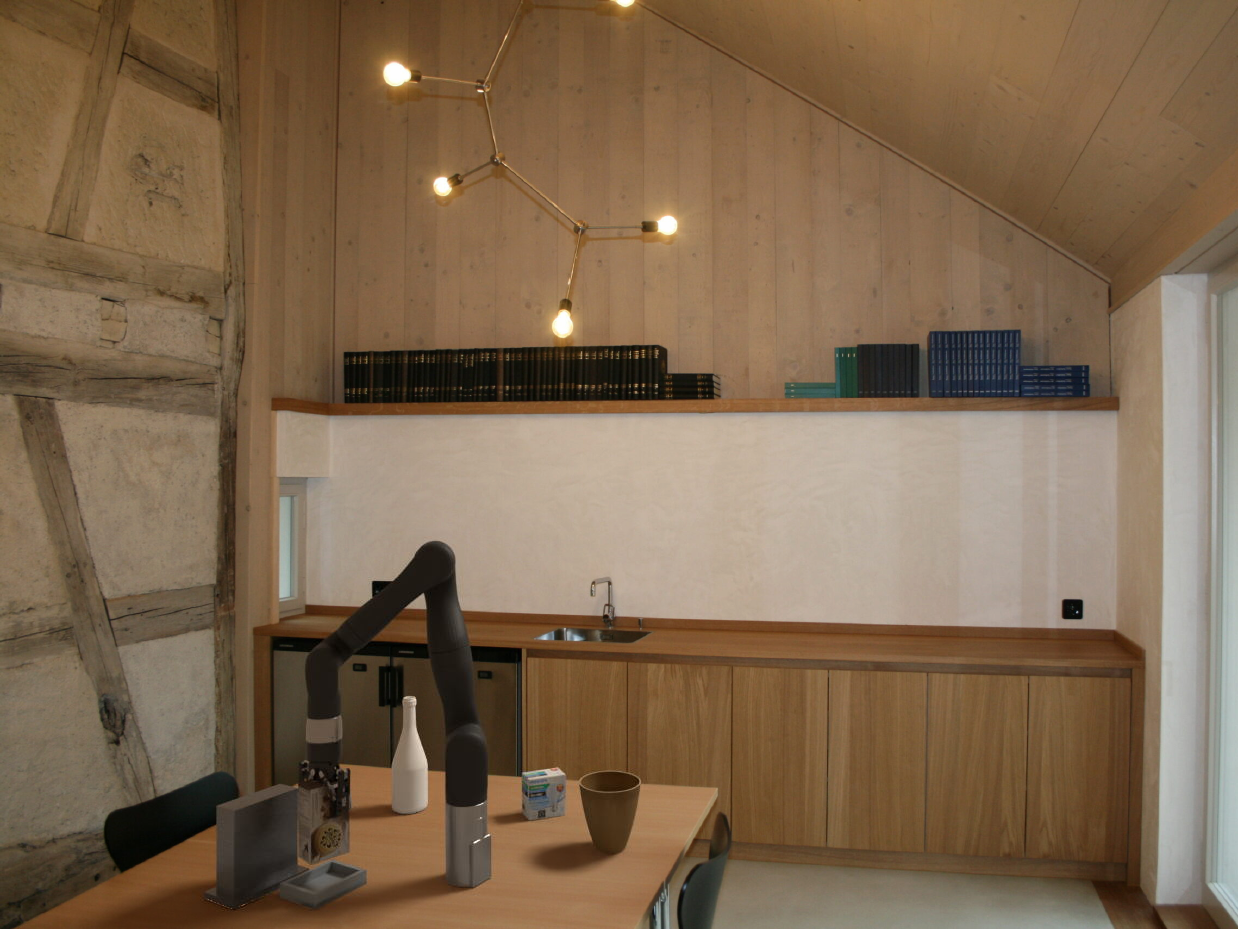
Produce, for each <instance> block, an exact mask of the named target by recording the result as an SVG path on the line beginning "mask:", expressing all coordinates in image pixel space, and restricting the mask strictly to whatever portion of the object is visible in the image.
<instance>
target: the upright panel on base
mask: <svg viewBox="0 0 1238 929" xmlns="http://www.w3.org/2000/svg"><path fill="white" fill-rule="evenodd" d="M215 843H216V846H215V847H216V851H215V852H216V853H215V854H216V856H215V857H216V862H215V863H216V864H215V868H216V874H215V875H216V878H215V879H216V881H215V883H216V884H215V887H212V888H209V889H207V890H206V891H204V892H203V899H204V898H206V899H209V900H212V901H213V902H216V903H219V904H221V905H224V906H226V907H229V908H232V909H236V908H238V907H239V906H241V905H243V904H246V903H248V904H250V903H249V902H251V901H252V900H255V899H257V900H259V899H261V898H263V897H266V896H267V895H266V894H268V895H270V894H271V892H272V893H274V892H277V891H278V890H280V883H282V882H284V881H286V880H288V879H290V878H293V877H295V876H297V875H299V874H301V873H303V872H306V871H308V870H310V868H309V867H306V866H302V865H299V863H298V862H299V861H298V858H299V857H298V788H296V787H295V786H291V785H287V784H283V783H278V784H275V785H273V786H270V787H267V788H264V789H261V790H258V791H255V792H253V793H250V794H246V795H244V796H240V797H238V798H235V799H232V800H229V801H227V802H224V803H221V804H217V805H216V842H215ZM273 891H274V892H273ZM269 893H270V894H269ZM265 895H266V896H265ZM262 896H263V897H262ZM260 897H261V898H260ZM258 898H259V899H258ZM255 901H256V900H255ZM213 902H212V903H213ZM216 903H215V904H216ZM251 903H252V902H251ZM221 905H220V906H221ZM246 905H247V904H246ZM226 907H225V908H226ZM229 908H228V909H229ZM238 909H239V908H238ZM236 910H237V909H236Z"/></svg>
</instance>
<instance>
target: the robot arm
mask: <svg viewBox="0 0 1238 929" xmlns="http://www.w3.org/2000/svg"><path fill="white" fill-rule="evenodd" d="M456 563H457V562H456V555H455V552H454V551H453V549H452V548H451V546H450V545H448V544H447V543H445V542H443V541H439V540H430V541H427V542H426V543H423V544H422V545H421V546H420V547H419V548H418V549H417V550H416V551H415V553H414V555H413V558H412V559H411V560H410V561H409V562H408V564H407V565H406V566H405V567H404V569H403V570H402V571H401V572H400V573H399V574H398V575H397V576H396V577H395V578H394V579H393V580H392V581H391V582H389V584H388V585H387V586H385V587H384V588H383V589H382V590H381V591H379V592H378V593H377V594H375V595H374V596H373V597H371V598H369V600H367V601H366V602H364V604H362V605H361V606H360V607H359V608H358V609H357V610H355V611H354V612H353V613H352V614H351V615H350V616H349V617H347V618H346V620H344V621H343V622H342V624H341V625H339V627H338V628H337V629H336V630H335V631H333V632H331V634H329V635H328V636H327V637H325V639H323V640H322V641H320V643H318V644H317V645H316V646H315V647H314V648H313V649H311V650H310V652H309V653H308V654H307V656H306V658H305V662H304V663H305V664H304V677H305V685H306V686H305V687H306V691H307V702H306V704H307V705H306V708H307V710H306V712H307V714H306V726H305V760H302V761H299V762H298V782H302V781H305V780H309V781H313V780H316V781H320V782H323V783H324V785H327V791H328V792H329V793H330V796H331V798H332V801H331V817H332V818H336V817H339V816H341V814H342V799H343V798H345V797H347V796H349V795H350V791H351V769H350V768H349V767H347V768H341V766H340V765H341V764H340V760H341V758H342V757H343V720H342V695H341V694H342V693H341V691H340V689H339V669H340V668H341V667H342V666H343V665H345V663H346V662H347V661H348V660H349V659H350V658H351V657H352V656H353V655H354V654H355V653H356V652H357V651H359V650H361V649H362V648H364V647H365V646H367V645H368V644H369V643H370V642H371V641H372V640H373V639H375V637H377V636H378V635H379V634H380V633H381V632H382V631H383V630H384V629H386V627H387V626H388V625H389V624H391V622H392V621H394V620H395V619H396V617H398V615H399V614H400V613H401V612H403V611H404V610H405V609H406V608H407V607H408V606H409V605H411V603H413V602H414V601H415V600H416V599H418V598H419V597H420V596H422V595H423V596H424V601H425V607H426V608H425V611H426V612H425V613H426V641H427V649H428V650H427V652H428V655H429V662H430V663H429V664H430V668H431V671H432V678H433V679H434V683H435V684H434V685H435V687H436V689H437V692H438V695H439V699H440V700H441V701H440V702H441V704H442V709H443V719H444V729H445V730H444V731H445V740H444V742H445V744H444V747H445V748H444V776H445V777H444V778H445V779H444V784H445V785H444V786H445V789H444V792H445V794H444V796H445V797H444V798H445V799H444V800H445V804H444V805H445V818H444V819H445V822H444V824H445V828H444V829H445V882H446V883H447V884H448V885H451V886H453V887H460V888H465V887H466V888H467V887H471V888H475V887H477V886H479V885H480V884H482V883H484V882H486V881H487V880H489V879H490V878H492V834H491V833H489V832H488V788H489V787H488V786H489V777H488V776H489V775H488V774H489V772H488V771H489V759H488V758H489V755H488V754H489V752H488V743H487V737H486V734H485V732H484V729H483V726H482V722H481V719H480V716H479V711H478V708H477V704H476V698H475V673H474V670H475V669H474V662H473V655H472V648H471V642H470V639H469V635H468V630H467V626H466V622H465V618H464V615H463V611H462V607H461V605H460V601H459V595H458V588H457V587H458V585H457V575H456V574H457V573H456V570H457V569H456V565H457V564H456ZM334 781H338V783H337V784H334V785H331V784H330V783H332V782H334ZM344 787H345V791H344V792H343V788H344ZM335 788H337V794H336V793H335V790H334V789H335Z"/></svg>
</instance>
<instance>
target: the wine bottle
mask: <svg viewBox="0 0 1238 929" xmlns="http://www.w3.org/2000/svg"><path fill="white" fill-rule="evenodd" d="M401 702H402V707H403V711H402V712H403V714H402V731H401V734H400V738H399V740H398V744H397V747H396V750H395V754H394V756H393V759H392V763H391V809H392V810H393V812H394V813H396V812H397V814H400V815H409V814H410V815H411V814H417V813H420V812H422V811H424V810H425V809H426V808H427V806H428V802H429V801H428V800H429V798H428V797H429V796H428V794H429V792H428V791H429V788H428V787H429V786H428V785H429V784H428V779H429V778H428V775H429V774H428V771H429V768H428V760H427V757H426V754H425V750H424V748H423V746H422V745H423V744H422V742H421V739H420V736H419V733H418V729H417V720H416V718H417V716H416V705H417V699H416V696H413V695H408V696H405V697H403V699H402V701H401ZM416 812H417V813H416Z"/></svg>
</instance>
